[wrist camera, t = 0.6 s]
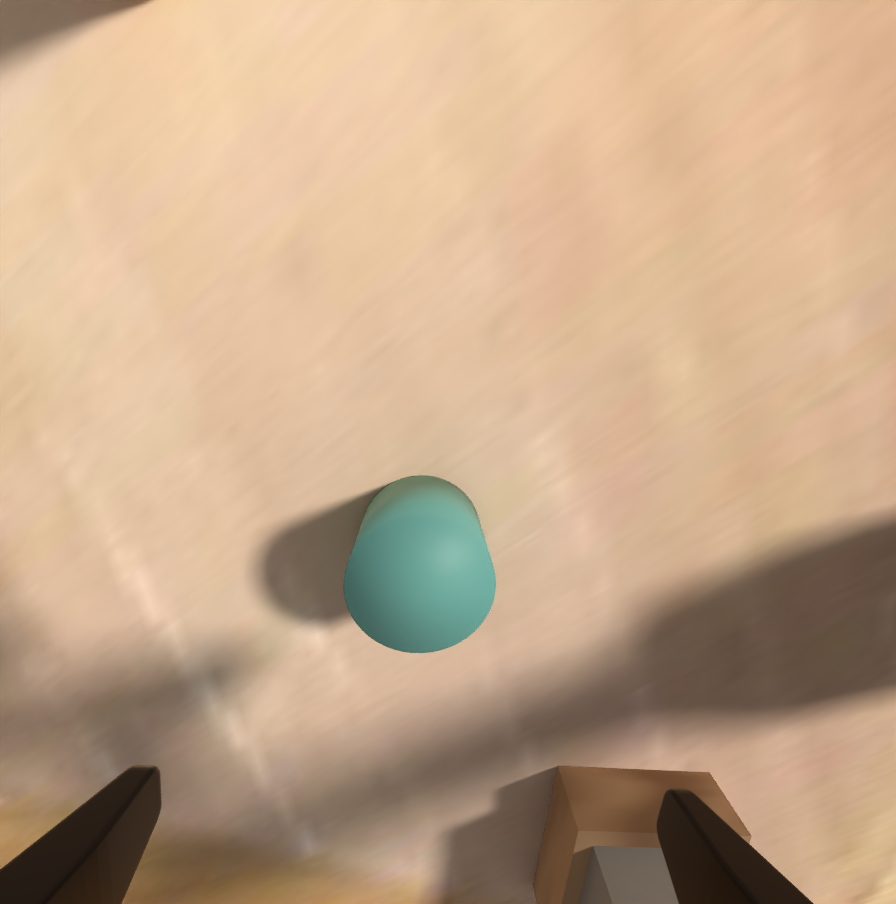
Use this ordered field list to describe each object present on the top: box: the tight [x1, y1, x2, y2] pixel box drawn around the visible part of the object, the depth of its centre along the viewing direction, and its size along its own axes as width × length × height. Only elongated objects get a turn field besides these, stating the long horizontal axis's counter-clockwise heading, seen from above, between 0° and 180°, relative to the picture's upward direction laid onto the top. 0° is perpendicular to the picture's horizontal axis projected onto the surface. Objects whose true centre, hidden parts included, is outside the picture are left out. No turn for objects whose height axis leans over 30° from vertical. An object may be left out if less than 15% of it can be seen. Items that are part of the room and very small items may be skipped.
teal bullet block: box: [344, 476, 496, 653], centre depth 17 cm, size 5×5×4 cm
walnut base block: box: [533, 766, 751, 904], centre depth 22 cm, size 8×8×4 cm
